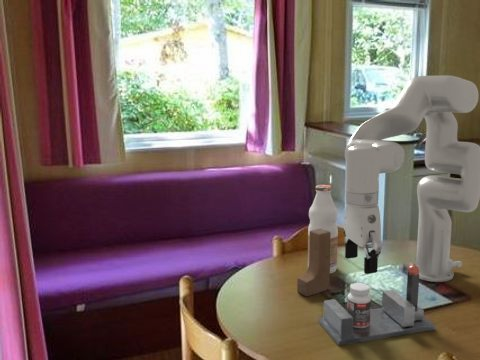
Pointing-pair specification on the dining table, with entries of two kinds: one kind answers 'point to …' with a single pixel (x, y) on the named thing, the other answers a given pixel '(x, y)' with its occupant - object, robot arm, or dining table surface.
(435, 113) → the robot arm
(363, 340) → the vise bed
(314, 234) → the wooden block
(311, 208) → the fruit juice
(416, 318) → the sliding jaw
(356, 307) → the pill bottle
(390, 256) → the dining table surface
